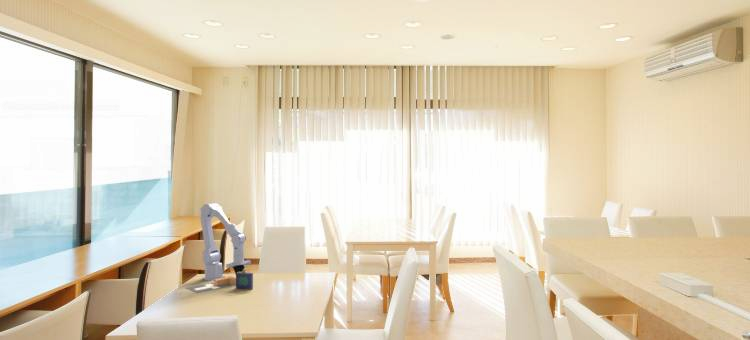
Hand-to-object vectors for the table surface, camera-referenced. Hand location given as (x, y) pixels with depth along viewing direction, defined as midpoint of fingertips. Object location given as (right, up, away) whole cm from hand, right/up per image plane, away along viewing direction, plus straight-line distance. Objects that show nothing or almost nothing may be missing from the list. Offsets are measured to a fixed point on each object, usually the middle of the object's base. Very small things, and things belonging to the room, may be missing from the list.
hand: (238, 278), depth 261 cm
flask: (+8, -2, -15) cm, 17 cm away
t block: (-6, -1, -7) cm, 9 cm away
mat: (-8, -2, -9) cm, 12 cm away
